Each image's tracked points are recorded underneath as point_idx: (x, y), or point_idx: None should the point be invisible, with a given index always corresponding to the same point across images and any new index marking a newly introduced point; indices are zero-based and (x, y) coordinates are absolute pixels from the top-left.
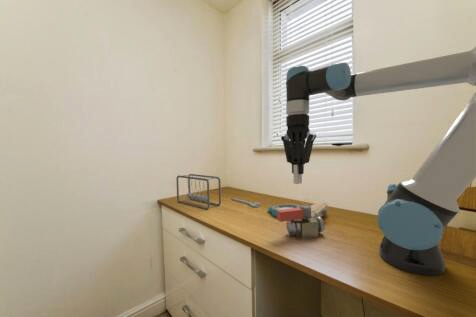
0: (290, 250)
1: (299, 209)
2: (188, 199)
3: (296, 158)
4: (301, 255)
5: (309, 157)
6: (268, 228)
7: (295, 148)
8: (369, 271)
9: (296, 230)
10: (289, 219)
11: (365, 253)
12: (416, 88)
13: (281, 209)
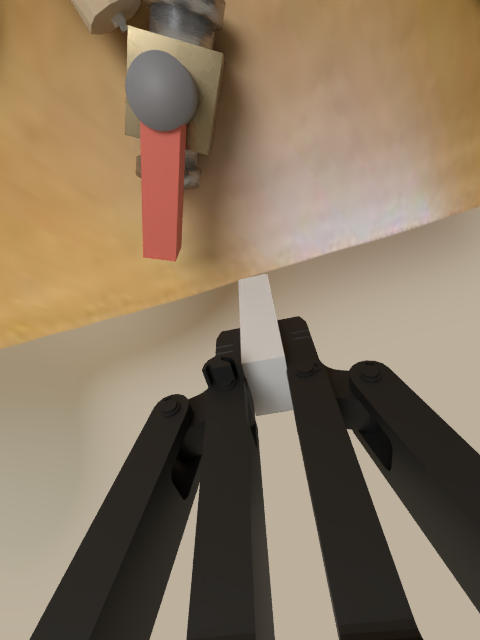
0: (255, 239)
1: (170, 147)
2: None
3: (252, 436)
4: (290, 230)
5: (421, 408)
6: (84, 204)
7: (264, 588)
8: (449, 123)
9: (200, 173)
10: (182, 207)
11: (410, 6)
12: None
13: None
